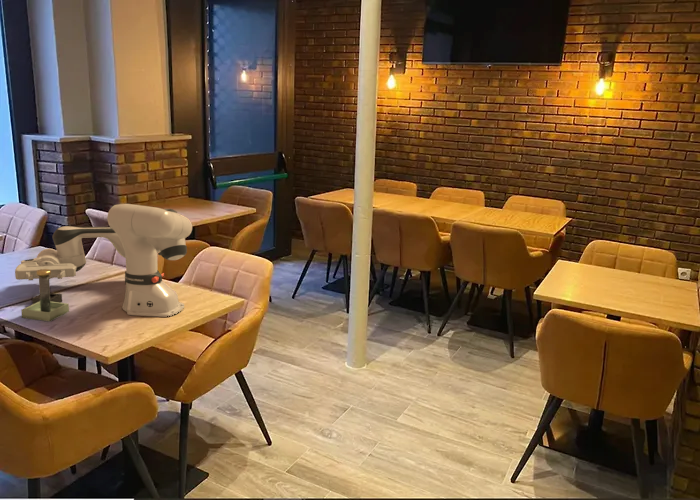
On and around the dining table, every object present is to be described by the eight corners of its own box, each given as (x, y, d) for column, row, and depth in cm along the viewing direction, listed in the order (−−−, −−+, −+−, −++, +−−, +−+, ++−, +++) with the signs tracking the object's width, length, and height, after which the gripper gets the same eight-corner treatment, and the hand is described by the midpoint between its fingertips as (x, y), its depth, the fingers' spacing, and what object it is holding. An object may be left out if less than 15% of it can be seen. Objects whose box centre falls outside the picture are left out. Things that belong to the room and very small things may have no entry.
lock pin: (55, 310, 205) (53, 269, 201) (47, 314, 201) (45, 273, 197) (44, 309, 206) (42, 268, 202) (35, 313, 201) (33, 271, 198)
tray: (68, 311, 208) (68, 303, 207) (49, 321, 198) (49, 313, 197) (42, 308, 209) (41, 300, 208) (21, 317, 199) (21, 309, 198)
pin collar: (62, 301, 217) (61, 294, 216) (50, 307, 210) (49, 300, 209) (45, 299, 218) (44, 292, 217) (32, 305, 211) (32, 297, 210)
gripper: (77, 273, 227) (77, 283, 215) (17, 276, 219) (14, 287, 206) (76, 258, 226) (76, 267, 213) (16, 260, 217) (13, 270, 205)
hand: (45, 277), depth 210 cm, fingers open, 8 cm apart
